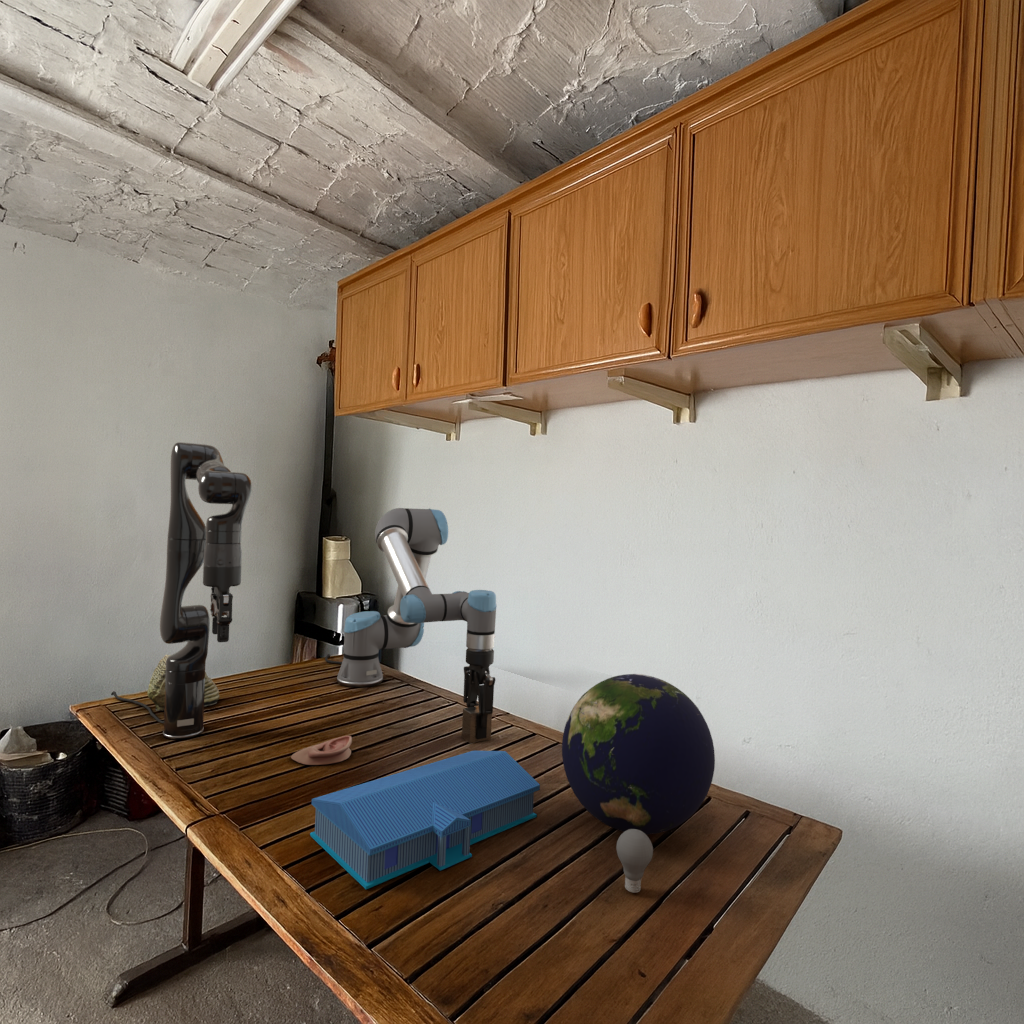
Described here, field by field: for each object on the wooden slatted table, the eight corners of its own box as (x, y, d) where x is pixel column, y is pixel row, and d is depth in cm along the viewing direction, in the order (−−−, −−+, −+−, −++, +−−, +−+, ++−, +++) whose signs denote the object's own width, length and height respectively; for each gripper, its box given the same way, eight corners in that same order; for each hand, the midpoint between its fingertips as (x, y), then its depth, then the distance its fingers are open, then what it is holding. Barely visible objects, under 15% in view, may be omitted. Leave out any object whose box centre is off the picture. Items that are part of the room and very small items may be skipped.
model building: (376, 899, 100) (378, 836, 100) (308, 834, 119) (310, 781, 118) (548, 822, 127) (550, 773, 127) (472, 779, 145) (474, 735, 145)
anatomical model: (284, 745, 150) (309, 728, 161) (283, 762, 150) (308, 744, 161) (336, 752, 147) (358, 734, 158) (335, 769, 147) (357, 750, 158)
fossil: (144, 707, 182) (145, 655, 182) (212, 696, 194) (213, 647, 194) (151, 716, 175) (153, 662, 175) (221, 703, 188) (223, 653, 188)
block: (490, 739, 170) (492, 710, 170) (469, 743, 167) (470, 713, 166) (482, 733, 174) (483, 705, 174) (461, 737, 171) (462, 708, 170)
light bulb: (610, 879, 108) (613, 822, 108) (644, 879, 109) (647, 822, 109) (619, 902, 102) (622, 840, 102) (655, 901, 103) (658, 840, 103)
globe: (537, 843, 119) (545, 684, 118) (581, 780, 147) (587, 651, 146) (703, 885, 108) (711, 711, 107) (716, 809, 135) (723, 670, 135)
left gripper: (246, 566, 133) (244, 643, 134) (236, 559, 146) (233, 630, 146) (207, 567, 129) (204, 646, 130) (200, 560, 142) (197, 632, 142)
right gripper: (509, 654, 164) (505, 744, 165) (476, 640, 179) (473, 722, 180) (484, 657, 160) (480, 748, 161) (452, 642, 175) (449, 726, 176)
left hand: (220, 637), depth 138 cm, fingers open, 8 cm apart
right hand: (476, 734), depth 170 cm, fingers closed on block, 5 cm apart
